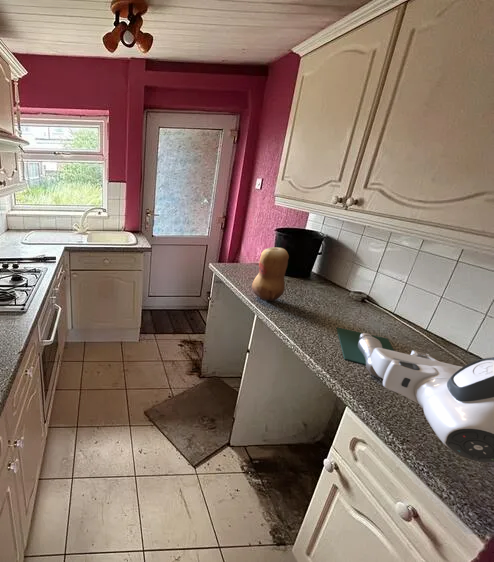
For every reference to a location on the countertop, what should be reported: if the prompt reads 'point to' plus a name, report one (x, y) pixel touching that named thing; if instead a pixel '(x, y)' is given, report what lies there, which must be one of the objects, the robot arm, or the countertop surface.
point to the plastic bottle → (368, 349)
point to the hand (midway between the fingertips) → (418, 354)
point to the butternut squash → (271, 274)
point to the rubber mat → (356, 345)
